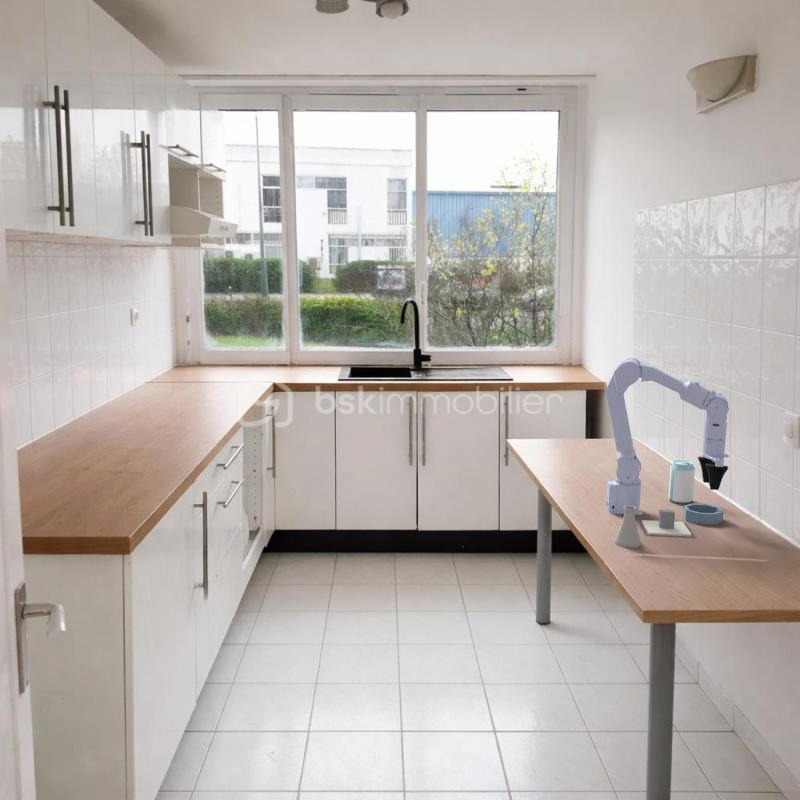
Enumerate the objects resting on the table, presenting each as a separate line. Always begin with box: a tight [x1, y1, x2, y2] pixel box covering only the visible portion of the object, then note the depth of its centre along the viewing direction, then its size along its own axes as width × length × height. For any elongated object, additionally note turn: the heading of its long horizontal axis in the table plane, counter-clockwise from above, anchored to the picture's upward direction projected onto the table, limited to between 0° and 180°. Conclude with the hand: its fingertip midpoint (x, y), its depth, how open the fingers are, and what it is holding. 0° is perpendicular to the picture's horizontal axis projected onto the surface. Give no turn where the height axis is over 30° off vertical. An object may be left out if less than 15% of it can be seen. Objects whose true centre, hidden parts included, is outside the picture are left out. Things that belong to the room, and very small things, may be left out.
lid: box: [641, 509, 692, 537], centre depth 240 cm, size 11×11×5 cm
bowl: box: [682, 502, 724, 526], centre depth 250 cm, size 10×10×4 cm
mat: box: [637, 520, 697, 539], centre depth 240 cm, size 13×13×1 cm
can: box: [668, 459, 696, 505], centre depth 269 cm, size 7×7×12 cm
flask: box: [613, 506, 643, 548], centre depth 228 cm, size 7×7×10 cm
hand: (710, 485), depth 249 cm, fingers open, 7 cm apart
